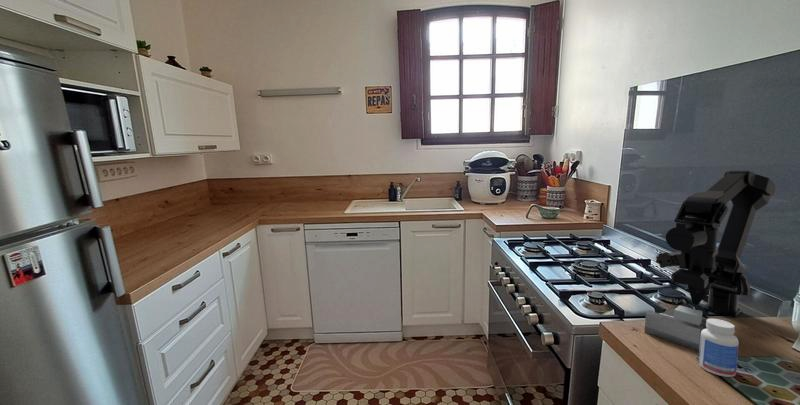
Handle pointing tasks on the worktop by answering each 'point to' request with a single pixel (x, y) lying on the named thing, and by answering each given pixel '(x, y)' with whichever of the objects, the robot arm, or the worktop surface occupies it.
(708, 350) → the pill bottle
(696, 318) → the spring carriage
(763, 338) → the worktop surface
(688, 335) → the gauge base
